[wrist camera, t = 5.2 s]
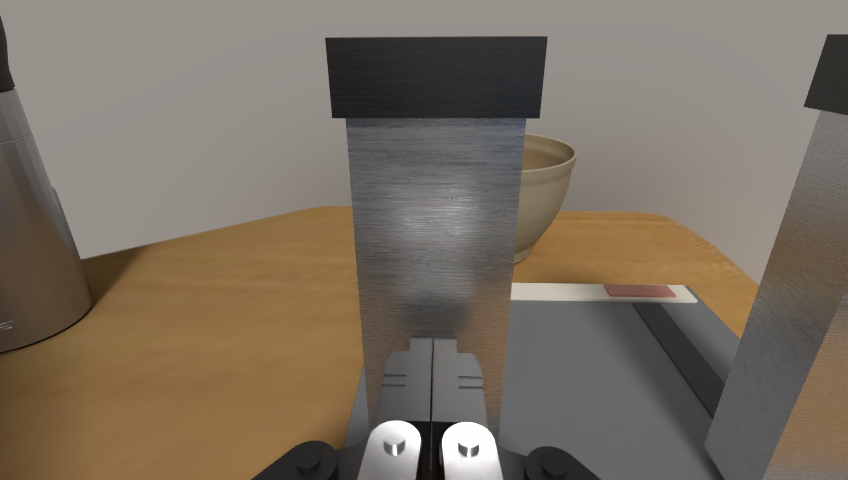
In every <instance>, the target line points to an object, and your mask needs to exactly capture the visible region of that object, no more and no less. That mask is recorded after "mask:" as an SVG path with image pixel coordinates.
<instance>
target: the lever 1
mask: <svg viewBox="0 0 848 480" xmlns="http://www.w3.org/2000/svg"><path fill="white" fill-rule="evenodd" d="M325 41H326V52H327V63H328V73H329V86H330V97H331V109H332V118H346V131H347V144H348V157H349V171H350V184H351V197H352V210H353V223H354V237H355V250H356V263H357V276H358V289H359V303H360V316H361V329H362V342H363V355H364V369H365V382H366V395H367V408H368V422H369V434H370V433H371V432H372V430H373V428H374V425H375V421H376V415H377V409H378V404H379V398H380V392H381V387H382V381H383V377H384V369H385V363H386V361H387V360H388V359H389V357H390V356H391V355H392V353H393V352H409V346H410V337H411V336H433V373H434V337H456V338H457V353H473V354H474V356H475V357H476V359H477V360H478V361H479V363H480V364H481V373H482V381H483V390H484V399H485V407H486V416H487V425H488V430H489V432H490V433H491V434H492V436H493V438H494V440H495V441H496V442H497V443H498V439H499V427H500V415H501V404H502V392H503V381H504V369H505V358H506V346H507V334H508V323H509V311H510V300H511V288H512V276H513V265H514V253H515V242H516V230H517V219H518V207H519V195H520V184H521V172H522V161H523V149H524V138H525V126H526V118H540V108H541V97H542V88H543V77H544V67H545V57H546V47H547V37H546V36H545V37H543V36H471V37H469V36H465V37H464V36H463V37H462V36H461V37H458V36H456V37H338V38H325ZM433 373H432V410H433ZM430 470H432V417H431V451H430Z"/></svg>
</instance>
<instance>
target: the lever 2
mask: <svg viewBox="0 0 848 480" xmlns="http://www.w3.org/2000/svg"><path fill="white" fill-rule="evenodd" d="M804 107H808V108H813V109H818V110H821V111H820V114H819V116H818V120H817V122H816V125H815V128H814V131H813V134H812V137H811V139H810V142H809V145H808V148H807V151H806V154H805V157H804V159H803V163H802V165H801V168H800V171H799V174H798V177H797V180H796V182H795V185H794V188H793V191H792V194H791V197H790V200H789V202H788V206H787V208H786V211H785V214H784V217H783V220H782V223H781V225H780V228H779V231H778V234H777V237H776V240H775V243H774V246H773V249H772V251H771V254H770V257H769V260H768V263H767V266H766V269H765V271H764V275H763V277H762V280H761V283H760V286H759V289H758V292H757V294H756V297H755V300H754V303H753V306H752V309H751V312H750V315H749V317H748V320H747V323H746V326H745V329H744V332H743V335H742V337H741V340H740V343H739V346H738V349H737V352H736V355H735V358H734V360H733V363H732V366H731V369H730V372H729V375H728V378H727V381H726V383H725V386H724V389H723V392H722V395H721V398H720V401H719V404H718V406H717V409H716V412H715V415H714V418H713V421H712V424H711V427H710V429H709V432H708V435H707V438H706V441H705V444H704V448H705V449H706V451H707V452H708V454H709V456H710V457H711V459H712V460H713V462H714V463H715V465H716V467H717V468H718V470H719V471H720V473H721V475H722V476H723V478H724V479H725V480H848V35H847V34H843V35H842V34H841V35H840V34H839V35H827V38H826V41H825V44H824V47H823V50H822V53H821V56H820V59H819V62H818V65H817V68H816V71H815V74H814V77H813V80H812V83H811V86H810V89H809V92H808V96H807V99H806V101H805V104H804Z"/></svg>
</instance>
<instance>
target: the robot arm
mask: <svg viewBox="0 0 848 480" xmlns="http://www.w3.org/2000/svg"><path fill="white" fill-rule="evenodd" d="M14 87H15V85H14V82H13V79H12V76H11V73H10V71H9V66H8V54H7V42H6V35H5V31H4V27H3V23H2V20H1V17H0V352H4V351H8V350H12V349H16V348H20V347H23V346H26V345H28V344H31V343H34V342H37V341H40V340H42V339H44V338H47V337H49V336H51V335H54V334H55V333H57V332H59V331H61V330H63V329H65V328H67V327H68V326H70V325H71V324H73V323H75V322H76V321H77V320H79V319H80V318H81V317H82V316H83V315H84V314H85V313H86V312H87V311H88V310H89V308H90V307H91V304H92V298H91V295H90V292H89V288H90V284H89V281H88V279H87V276H86V273H85V270H84V268H83V265H82V262H81V259H80V257H79V254H78V251H77V248H76V245H75V242H74V240H73V237H72V234H71V231H70V229H69V226H68V223H67V221H66V218H65V215H64V212H63V209H62V207H61V204H60V201H59V198H58V195H57V192H56V190H55V189H54V188H53V187H52V186H51V184H50V181H49V179H48V176H47V173H46V170H45V168H44V165H43V162H42V159H41V157H40V154H39V151H38V148H37V146H36V143H35V140H34V137H33V135H32V132H31V130H30V127H29V124H28V122H27V119H26V116H25V113H24V111H23V108H22V105H21V102H20V100H19V97H18V94H17V91H16V90H15V89H14ZM432 373H433V336H411V337H410V346H409V352H393V353H392V355H391V356H390V357H389V359H388V360H387V361H386V363H385V369H384V377H383V381H382V387H381V392H380V398H379V404H378V409H377V415H376V421H375V425H374V428H373V430H372V432H371V433H370V434H369V436H368V437H367V438H365V439H364V440H363V441H361V442H360V443H358V444H356V445H354V446H351V447H347V448H343V449H339V450H336V451H335V450H334V449H333V448H332V447H331V446H330V445H329V444H327V443H325V442H322V441H308V442H304V443H301V444H299V445H297V446H295V447H294V448H292V449H291V450H290V451H288V452H287V453H286V454H284V455H283V456H282V457H280V458H279V459H278V460H276V461H275V462H274V463H273V464H271V465H270V466H269V467H267V468H266V469H265V470H263V471H262V472H261V473H259V474H258V475H257V476H255V477H254V478H253V479H251V480H430V451H431V417H432V480H601V479H600V478H599V477H597V476H596V475H595V474H594V473H593V472H591V471H590V470H589V469H588V468H586V467H585V466H584V465H583V464H582V463H580V462H579V461H578V460H577V459H576V458H574V457H573V456H572V455H571V454H569V453H568V452H566V451H564V450H562V449H560V448H556V447H551V446H543V447H539V448H536V449H534V450H532V451H531V452H530V453H529V454H528V456H525V455H521V454H518V453H515V452H512V451H509V450H507V449H505V448H503V447H502V446H500V445H499V444H498V443H497V442H496V441H495V440H494V438H493V436H492V434H491V433H490V432H489V430H488V425H487V416H486V407H485V399H484V390H483V381H482V373H481V364H480V363H479V361H478V360H477V359H476V357H475V356H474V354H473V353H457V338H456V337H434V373H433V410H432Z"/></svg>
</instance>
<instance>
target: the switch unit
mask: <svg viewBox="0 0 848 480" xmlns="http://www.w3.org/2000/svg"><path fill="white" fill-rule="evenodd" d="M739 343H740V339H739V338H738V337H737V336H736V335H735V334H734V333H733V332H732V331H731V330H730V329H729V328H728V327H727V326H726V325H725V323H724V322H723V321H722V320H721V319H720V318H719V317H718V316H717V315H716V314H715V313H714V312H713V311H712V310H711V309H710V308H709V307H708V306H707V305H706V304H705V303H704V302H703V301H702V300H701V299H700V298H699V297H698V296H697V295H696V294H695V293H694V292H693V291H692V290H691V289H690V288H689V287H688V286H683V285H630V284H559V283H512V288H511V300H510V311H509V323H508V334H507V346H506V358H505V369H504V381H503V392H502V404H501V415H500V427H499V439H498V444H499V445H500V446H502V447H503V448H505V449H507V450H509V451H512V452H515V453H518V454H521V455H525V456H528V454H529V453H530V452H531V451H532V450H534V449H536V448H539V447H543V446H551V447H556V448H560V449H562V450H564V451H566V452H568V453H569V454H571V455H572V456H573V457H574V458H576V459H577V460H578V461H579V462H580V463H582V464H583V465H584V466H585V467H586V468H588V469H589V470H590V471H591V472H593V473H594V474H595V475H596V476H597V477H599V478H600V479H601V480H725V479H724V478H723V476H722V475H721V473H720V471H719V470H718V468H717V467H716V465H715V463H714V462H713V460H712V459H711V457H710V456H709V454H708V452H707V451H706V449H705V448H704V444H705V441H706V438H707V435H708V432H709V429H710V427H711V424H712V421H713V418H714V415H715V412H716V409H717V406H718V404H719V401H720V398H721V395H722V392H723V389H724V386H725V383H726V381H727V378H728V375H729V372H730V369H731V366H732V363H733V360H734V358H735V355H736V352H737V349H738V346H739ZM368 436H369V422H368V408H367V395H366V382H365V369H364V364H363V368H362V372H361V377H360V381H359V385H358V389H357V393H356V397H355V402H354V406H353V410H352V414H351V418H350V422H349V426H348V431H347V435H346V439H345V443H344V447H343V448H347V447H351V446H354V445H356V444H358V443H360V442H361V441H363V440H364V439H365V438H367V437H368ZM430 480H432V470H430Z"/></svg>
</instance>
